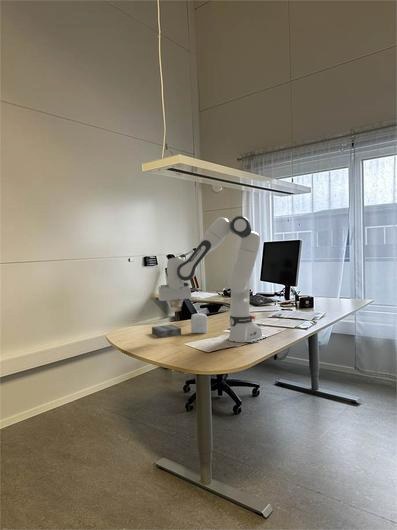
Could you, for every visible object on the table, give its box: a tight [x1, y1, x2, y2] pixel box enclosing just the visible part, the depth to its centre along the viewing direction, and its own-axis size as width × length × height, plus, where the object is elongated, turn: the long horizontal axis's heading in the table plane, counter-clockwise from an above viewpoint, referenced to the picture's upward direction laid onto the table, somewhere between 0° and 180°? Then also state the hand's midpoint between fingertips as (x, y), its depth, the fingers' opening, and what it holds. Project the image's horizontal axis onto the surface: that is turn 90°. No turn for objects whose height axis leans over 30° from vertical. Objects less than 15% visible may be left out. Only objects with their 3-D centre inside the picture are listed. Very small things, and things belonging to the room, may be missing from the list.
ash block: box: [169, 299, 182, 313], centre depth 211 cm, size 5×5×6 cm
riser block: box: [151, 324, 182, 339], centre depth 225 cm, size 14×14×4 cm
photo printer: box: [190, 313, 208, 334], centre depth 226 cm, size 10×4×12 cm, turn 84°
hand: (175, 307), depth 211 cm, fingers closed on ash block, 5 cm apart
